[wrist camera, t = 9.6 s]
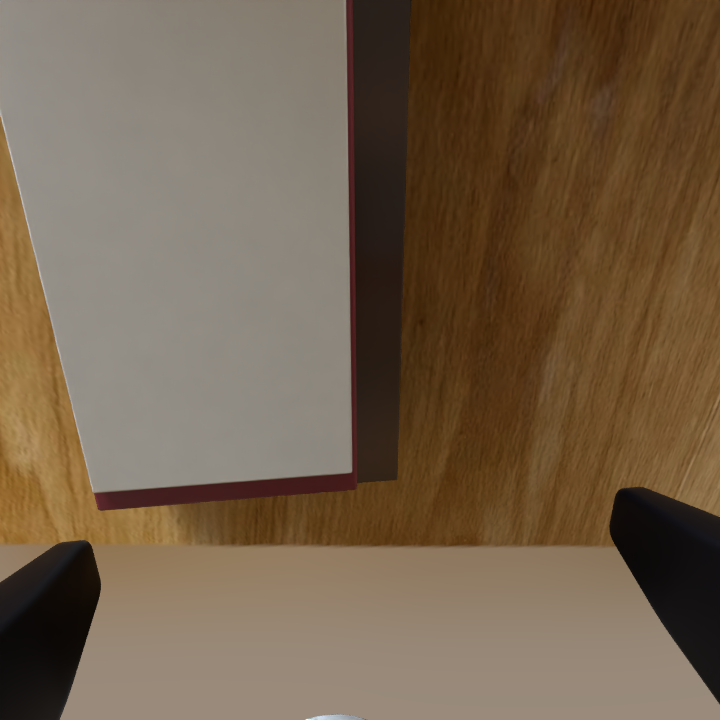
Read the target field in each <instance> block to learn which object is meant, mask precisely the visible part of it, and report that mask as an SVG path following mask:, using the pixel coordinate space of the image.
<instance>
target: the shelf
mask: <svg viewBox="0 0 720 720" xmlns="http://www.w3.org/2000/svg"><path fill="white" fill-rule="evenodd" d="M410 18H411V0H353V76H354V187H355V297H356V408H357V483H363V482H376V481H388V480H397V474H398V439H399V404H400V369H401V334H402V299H403V264H404V228H405V193H406V158H407V123H408V88H409V53H410Z"/></svg>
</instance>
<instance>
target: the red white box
mask: <svg viewBox="0 0 720 720" xmlns="http://www.w3.org/2000/svg"><path fill="white" fill-rule="evenodd" d="M0 115H1V119H2V123H3V127H4V131H5V135H6V139H7V143H8V147H9V151H10V156H11V160H12V164H13V168H14V172H15V176H16V180H17V184H18V188H19V192H20V196H21V201H22V205H23V209H24V213H25V217H26V221H27V225H28V229H29V233H30V237H31V241H32V246H33V250H34V254H35V258H36V262H37V266H38V270H39V274H40V278H41V282H42V286H43V291H44V295H45V299H46V303H47V307H48V311H49V315H50V319H51V323H52V327H53V331H54V336H55V340H56V344H57V348H58V352H59V356H60V360H61V364H62V368H63V372H64V376H65V380H66V385H67V389H68V393H69V397H70V401H71V405H72V409H73V413H74V417H75V421H76V425H77V430H78V434H79V438H80V442H81V446H82V450H83V454H84V458H85V462H86V466H87V470H88V475H89V479H90V483H91V487H92V491H93V493H94V495H95V499H96V503H97V507H98V509H99V510H101V511H103V510H115V509H127V508H139V507H151V506H164V505H176V504H188V503H200V502H212V501H224V500H237V499H249V498H261V497H273V496H285V495H297V494H310V493H322V492H334V491H346V490H355V489H356V488H357V408H356V297H355V187H354V76H353V0H0Z"/></svg>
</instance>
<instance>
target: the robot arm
mask: <svg viewBox="0 0 720 720" xmlns="http://www.w3.org/2000/svg"><path fill="white" fill-rule="evenodd" d="M609 529H610V535H611V538H612V540H613V542H614V544H615V546H616V547H617V549H618V551H619V552H620V554H621V556H622V557H623V559H624V561H625V562H626V564H627V566H628V567H629V569H630V571H631V572H632V574H633V576H634V577H635V579H636V581H637V583H638V584H639V586H640V588H641V589H642V591H643V593H644V594H645V596H646V597H647V599H648V601H649V603H650V604H651V606H652V607H653V609H654V611H655V613H656V614H657V616H658V617H659V619H660V620H661V622H662V623H663V625H664V627H665V628H666V629H667V631H668V632H669V634H670V635H671V637H672V638H673V639H674V641H675V642H676V643H677V645H678V646H679V648H680V649H681V651H682V652H683V653H684V655H685V656H686V658H687V659H688V660H689V662H690V663H691V664H692V666H693V668H694V669H695V670H696V671H697V673H698V675H699V676H700V677H701V678H702V680H703V682H704V683H705V684H706V686H707V687H708V688H709V690H710V691H711V693H712V694H713V695H714V697H715V698H716V700H717V701H718V702H719V704H720V517H718V516H716V515H713V514H711V513H708V512H706V511H703V510H700V509H698V508H695V507H693V506H690V505H688V504H685V503H683V502H680V501H677V500H675V499H672V498H670V497H667V496H665V495H662V494H660V493H657V492H655V491H652V490H649V489H647V488H644V487H632V488H622V489H620V490H618V492H617V493H616V495H615V499H614V504H613V510H612V515H611V520H610V525H609ZM100 590H101V581H100V576H99V572H98V568H97V565H96V561H95V557H94V553H93V549H92V546H91V544H90V543H89V542H88V541H85V540H80V541H70V542H62V543H59V544H57V545H55V546H53V547H52V548H50V549H49V550H48V551H46V552H45V553H43V554H42V555H40V556H39V557H37V558H36V559H34V560H33V561H31V562H30V563H28V564H27V565H25V566H24V567H22V568H21V569H19V570H18V571H17V572H15V573H14V574H12V575H11V576H9V577H8V578H6V579H5V580H3V581H2V582H0V720H60V717H61V715H62V712H63V710H64V707H65V704H66V702H67V699H68V696H69V693H70V690H71V687H72V684H73V681H74V677H75V675H76V671H77V668H78V665H79V662H80V658H81V655H82V652H83V648H84V645H85V642H86V639H87V635H88V632H89V629H90V626H91V623H92V619H93V616H94V613H95V610H96V606H97V603H98V600H99V596H100Z"/></svg>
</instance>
